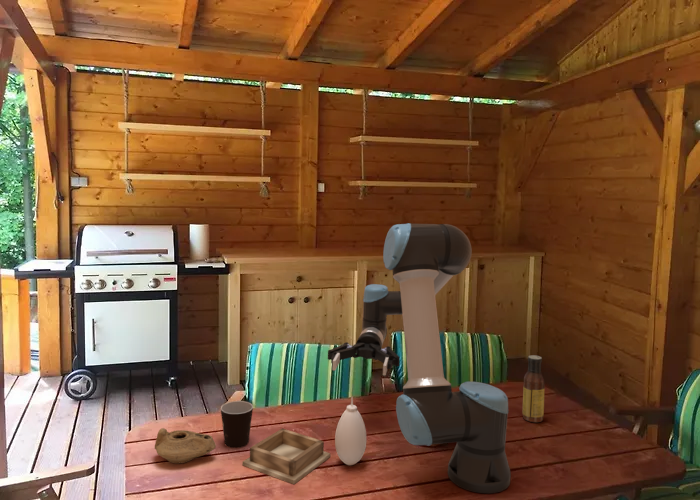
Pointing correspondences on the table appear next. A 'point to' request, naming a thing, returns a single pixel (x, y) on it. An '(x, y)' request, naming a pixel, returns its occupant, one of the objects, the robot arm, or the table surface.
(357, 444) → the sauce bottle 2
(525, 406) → the sauce bottle
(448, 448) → the table surface
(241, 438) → the coffee mug
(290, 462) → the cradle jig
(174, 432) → the oil lamp
